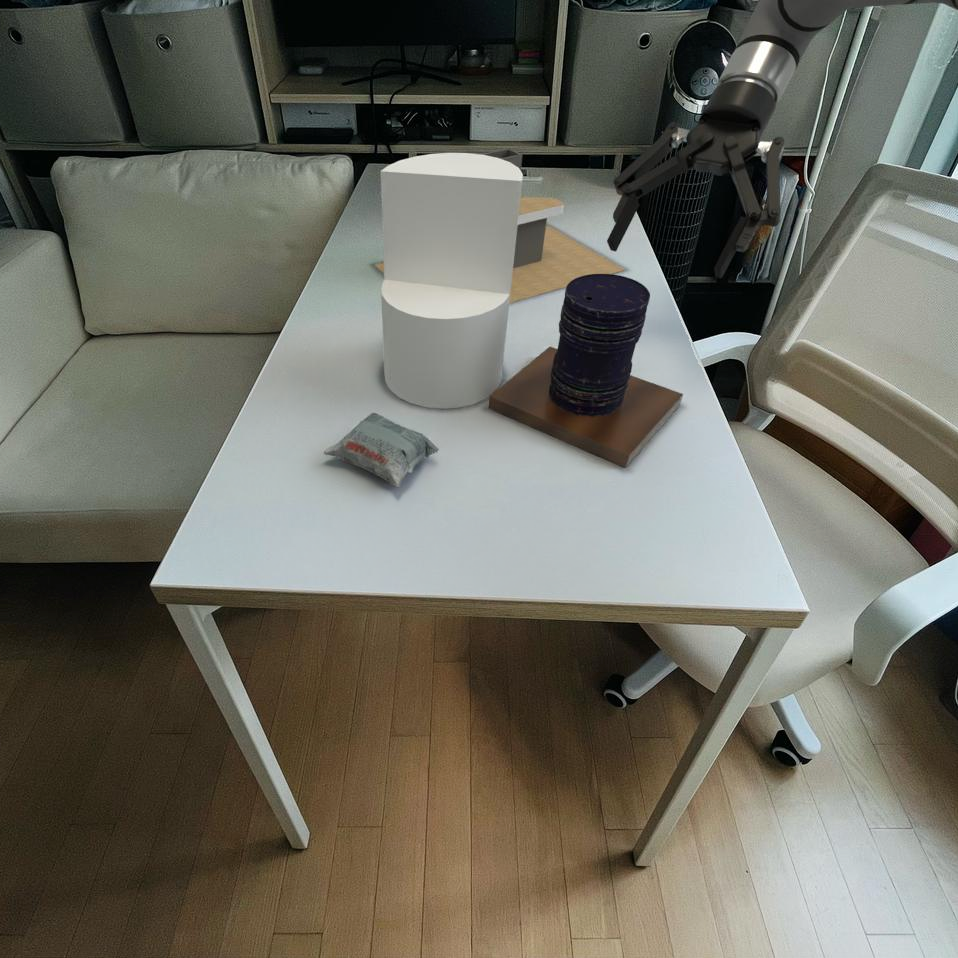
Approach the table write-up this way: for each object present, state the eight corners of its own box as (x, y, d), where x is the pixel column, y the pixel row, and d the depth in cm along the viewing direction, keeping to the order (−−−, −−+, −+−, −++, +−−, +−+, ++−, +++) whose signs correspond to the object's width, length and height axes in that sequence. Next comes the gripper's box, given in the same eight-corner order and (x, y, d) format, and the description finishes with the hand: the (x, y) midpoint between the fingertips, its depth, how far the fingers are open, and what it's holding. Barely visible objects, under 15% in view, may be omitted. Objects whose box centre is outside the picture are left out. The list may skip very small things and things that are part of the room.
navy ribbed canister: (587, 366, 93) (608, 266, 83) (640, 400, 87) (670, 296, 77) (532, 389, 90) (547, 287, 80) (583, 426, 84) (606, 321, 74)
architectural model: (542, 222, 136) (556, 116, 123) (625, 269, 119) (652, 152, 105) (374, 264, 126) (368, 154, 112) (438, 323, 108) (441, 200, 95)
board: (679, 406, 89) (683, 393, 88) (625, 468, 81) (629, 455, 79) (548, 357, 99) (549, 346, 98) (488, 408, 91) (489, 396, 89)
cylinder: (404, 336, 106) (402, 149, 87) (512, 351, 101) (534, 157, 82) (367, 397, 94) (355, 196, 75) (487, 418, 89) (506, 208, 70)
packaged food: (398, 501, 78) (398, 470, 75) (323, 463, 84) (320, 433, 81) (439, 462, 83) (440, 431, 80) (366, 429, 89) (364, 399, 86)
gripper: (856, 130, 77) (767, 298, 79) (650, 103, 90) (578, 248, 92) (866, 89, 71) (768, 272, 73) (642, 66, 84) (565, 223, 86)
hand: (662, 259), depth 82 cm, fingers open, 13 cm apart
